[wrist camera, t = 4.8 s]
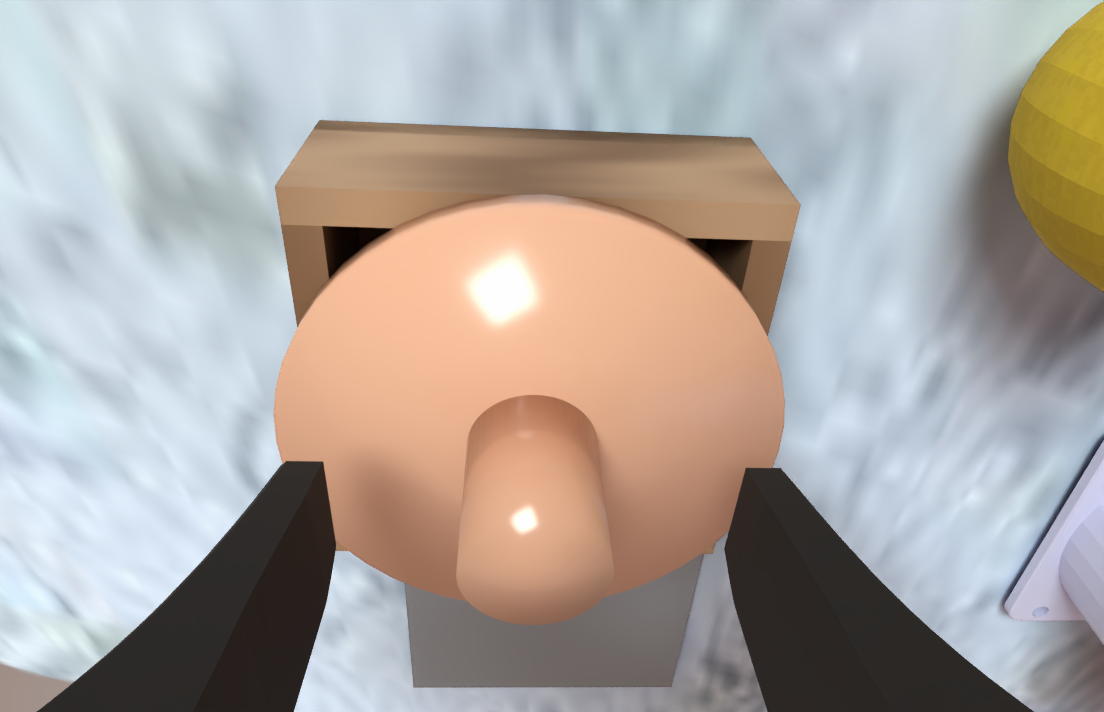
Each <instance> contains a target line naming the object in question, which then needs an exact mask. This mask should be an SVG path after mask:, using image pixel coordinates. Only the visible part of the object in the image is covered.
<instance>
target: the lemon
mask: <svg viewBox="0 0 1104 712" xmlns="http://www.w3.org/2000/svg"><path fill="white" fill-rule="evenodd" d="M1008 163H1009V168H1010V173H1011V177H1012V182H1013V187H1014V191H1015V196H1016V199H1017V201H1018V203H1019V205H1020V207H1021V209H1022V211H1023V212H1024V214H1025V216H1026V217H1027V219H1028V220H1029V222H1030V224H1031V225H1032V227H1033V229H1034V230H1035V232H1036V233H1037V235H1038V236H1039V238H1040V239H1041V241H1042V242H1043V243H1044V244H1045V246H1046V247H1047V248H1048V249H1049V250H1050V251H1051V252H1052V253H1053V254H1054V255H1055V256H1056V257H1057V258H1058V259H1060V260H1061V261H1062V262H1063V263H1064V264H1065V265H1067V266H1068V267H1069V268H1071V269H1072V270H1073V271H1075V272H1076V273H1077V274H1079V275H1080V276H1081V277H1083V278H1084V279H1085V280H1087V281H1088V282H1089V283H1091V284H1092V285H1094V286H1095V287H1097V288H1098V289H1100V290H1101V291H1103V292H1104V2H1102V3H1100V4H1099V5H1097V6H1096V7H1094V8H1093V9H1092V10H1091V11H1089V12H1088V13H1087V14H1086V15H1084V16H1083V17H1082V18H1081V19H1080V20H1078V21H1077V22H1076V23H1075V24H1073V25H1072V26H1071V27H1070V28H1068V29H1067V30H1066V31H1065V32H1064V33H1063V34H1062V36H1061V37H1060V38H1059V39H1058V40H1057V41H1056V42H1055V44H1054V45H1053V46H1052V47H1051V48H1050V49H1049V51H1048V52H1047V53H1046V54H1045V55H1044V56H1043V58H1042V59H1041V60H1040V61H1039V63H1038V65H1037V66H1036V68H1035V70H1034V72H1033V73H1032V75H1031V77H1030V78H1029V80H1028V82H1027V83H1026V85H1025V87H1024V88H1023V90H1022V92H1021V95H1020V98H1019V101H1018V104H1017V107H1016V109H1015V112H1014V115H1013V118H1012V121H1011V129H1010V139H1009V150H1008Z"/></svg>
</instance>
